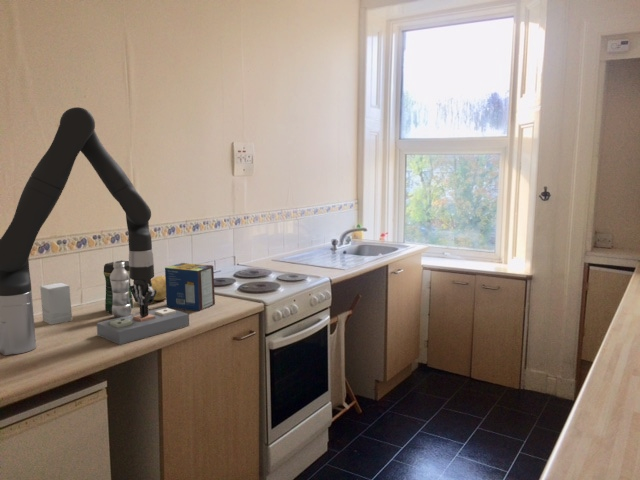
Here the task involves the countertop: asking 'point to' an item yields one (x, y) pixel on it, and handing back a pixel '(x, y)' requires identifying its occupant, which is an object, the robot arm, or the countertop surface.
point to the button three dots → (141, 318)
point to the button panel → (142, 327)
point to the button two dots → (121, 323)
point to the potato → (159, 287)
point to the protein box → (190, 286)
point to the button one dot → (165, 312)
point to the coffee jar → (109, 294)
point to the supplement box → (56, 303)
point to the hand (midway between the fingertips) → (144, 315)
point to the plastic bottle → (120, 290)
